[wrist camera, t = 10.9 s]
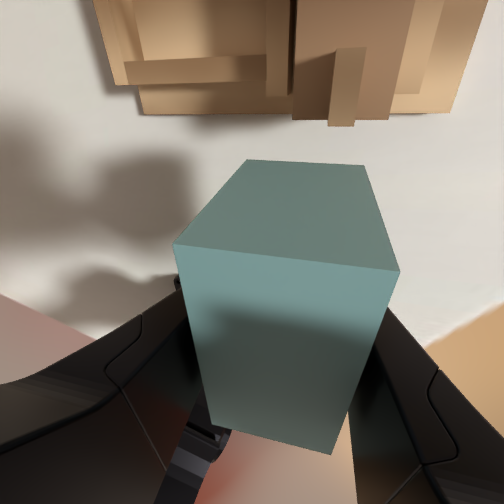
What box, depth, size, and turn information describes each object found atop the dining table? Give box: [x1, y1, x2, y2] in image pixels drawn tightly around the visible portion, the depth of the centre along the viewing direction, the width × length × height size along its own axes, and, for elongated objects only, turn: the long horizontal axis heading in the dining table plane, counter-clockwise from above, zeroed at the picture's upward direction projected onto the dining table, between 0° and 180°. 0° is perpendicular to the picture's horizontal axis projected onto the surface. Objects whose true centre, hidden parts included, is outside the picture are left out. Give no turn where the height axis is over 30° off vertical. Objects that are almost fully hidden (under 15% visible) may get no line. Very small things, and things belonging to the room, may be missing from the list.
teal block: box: [172, 160, 400, 455], centre depth 8 cm, size 4×6×5 cm, turn 2°
